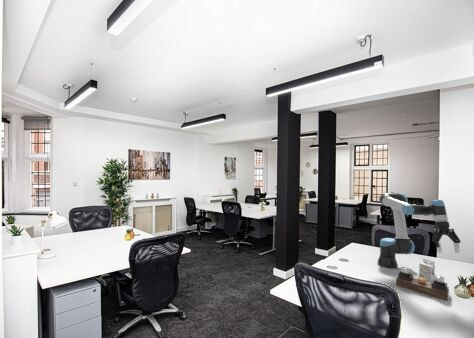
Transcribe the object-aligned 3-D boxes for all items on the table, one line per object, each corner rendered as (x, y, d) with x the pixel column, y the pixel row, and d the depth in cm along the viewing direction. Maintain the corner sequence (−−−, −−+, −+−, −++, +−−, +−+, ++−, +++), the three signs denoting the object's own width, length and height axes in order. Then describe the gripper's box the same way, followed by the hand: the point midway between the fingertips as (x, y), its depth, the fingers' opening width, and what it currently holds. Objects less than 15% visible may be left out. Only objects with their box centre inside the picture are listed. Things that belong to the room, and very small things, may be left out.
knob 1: (402, 272, 180) (402, 266, 180) (410, 274, 176) (410, 268, 177) (400, 273, 176) (400, 268, 176) (408, 276, 173) (408, 270, 173)
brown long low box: (399, 280, 184) (400, 270, 184) (448, 294, 164) (448, 282, 164) (396, 285, 175) (396, 274, 175) (447, 300, 156) (447, 288, 156)
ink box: (418, 277, 190) (418, 258, 191) (422, 276, 192) (422, 258, 193) (431, 282, 182) (431, 262, 183) (435, 281, 184) (435, 261, 185)
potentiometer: (418, 280, 173) (418, 276, 173) (426, 282, 170) (426, 278, 170) (417, 282, 170) (417, 277, 170) (425, 284, 167) (425, 279, 167)
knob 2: (434, 280, 167) (435, 274, 167) (444, 282, 163) (444, 276, 163) (434, 282, 163) (434, 276, 163) (443, 285, 160) (443, 279, 160)
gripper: (430, 220, 170) (437, 252, 163) (462, 221, 172) (470, 253, 166) (421, 221, 177) (427, 252, 170) (452, 222, 179) (459, 253, 173)
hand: (449, 252), depth 168 cm, fingers open, 13 cm apart
